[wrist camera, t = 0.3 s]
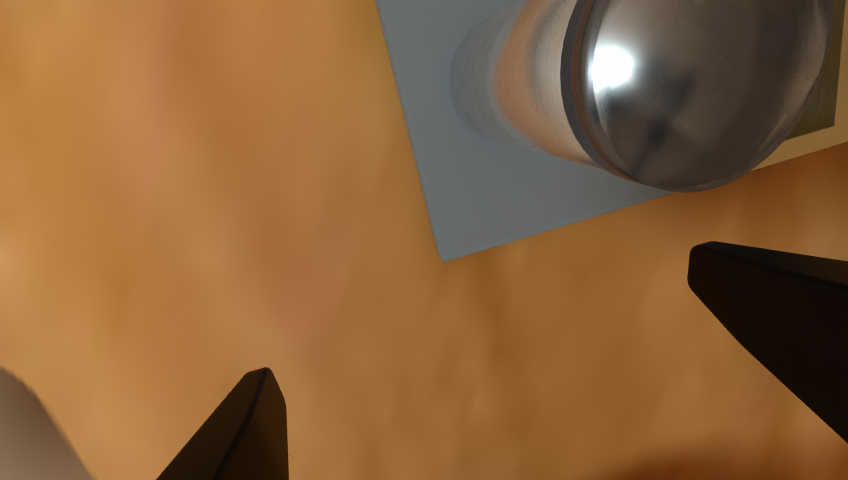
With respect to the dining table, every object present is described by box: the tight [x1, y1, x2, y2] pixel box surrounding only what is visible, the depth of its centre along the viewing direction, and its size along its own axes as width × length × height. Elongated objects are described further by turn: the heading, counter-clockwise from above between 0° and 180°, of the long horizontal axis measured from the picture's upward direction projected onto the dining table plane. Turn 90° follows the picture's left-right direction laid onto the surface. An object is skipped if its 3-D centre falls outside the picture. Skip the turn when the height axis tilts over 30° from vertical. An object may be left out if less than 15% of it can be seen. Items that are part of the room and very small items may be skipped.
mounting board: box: [376, 0, 675, 262], centre depth 22 cm, size 14×21×1 cm, turn 104°
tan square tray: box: [676, 0, 848, 193], centre depth 21 cm, size 10×10×3 cm
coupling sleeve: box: [449, 0, 833, 192], centre depth 15 cm, size 6×6×12 cm
